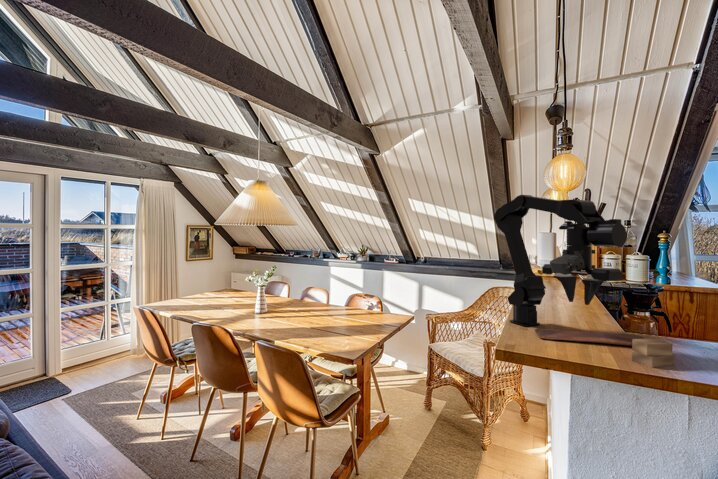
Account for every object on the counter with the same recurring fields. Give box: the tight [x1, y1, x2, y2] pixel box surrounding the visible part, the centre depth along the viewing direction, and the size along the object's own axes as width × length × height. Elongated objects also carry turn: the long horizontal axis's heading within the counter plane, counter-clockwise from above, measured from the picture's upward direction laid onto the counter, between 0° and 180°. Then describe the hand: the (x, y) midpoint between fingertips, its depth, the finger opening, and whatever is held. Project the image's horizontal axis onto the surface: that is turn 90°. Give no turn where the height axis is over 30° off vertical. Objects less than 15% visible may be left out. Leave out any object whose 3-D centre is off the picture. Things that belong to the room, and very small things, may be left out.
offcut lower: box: [631, 350, 675, 368], centre depth 73 cm, size 4×7×2 cm, turn 107°
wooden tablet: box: [534, 328, 646, 347], centre depth 90 cm, size 26×2×10 cm
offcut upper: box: [631, 338, 673, 356], centre depth 73 cm, size 4×6×2 cm, turn 94°
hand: (578, 303), depth 89 cm, fingers open, 4 cm apart
